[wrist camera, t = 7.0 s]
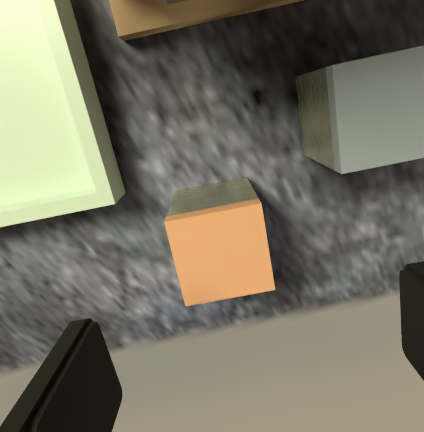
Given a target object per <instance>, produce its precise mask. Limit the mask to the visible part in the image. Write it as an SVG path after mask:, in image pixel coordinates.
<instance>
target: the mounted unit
mask: <svg viewBox="0 0 424 432" xmlns="http://www.w3.org/2000/svg"><path fill="white" fill-rule="evenodd" d="M299 1H304V0H109V2H110V6H111V10H112V14H113V18H114V21H115V25H116V29H117V33H118V37H120V38H121V39H122V40H124V41H125V40H130V39H134V38H139V37H143V36H147V35H152V34H156V33H161V32H165V31H170V30H174V29H179V28H183V27H188V26H192V25H197V24H201V23H206V22H210V21H214V20H219V19H223V18H228V17H232V16H237V15H241V14H246V13H250V12H255V11H259V10H264V9H268V8H273V7H277V6H282V5H286V4H290V3H295V2H299Z"/></svg>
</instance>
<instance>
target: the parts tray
mask: <svg viewBox="0 0 424 432" xmlns="http://www.w3.org/2000/svg"><path fill="white" fill-rule="evenodd" d="M125 193H126V192H125V189H124V185H123V182H122V179H121V175H120V172H119V168H118V165H117V161H116V158H115V154H114V151H113V147H112V144H111V140H110V137H109V133H108V130H107V127H106V123H105V120H104V116H103V113H102V109H101V106H100V102H99V99H98V95H97V92H96V88H95V85H94V81H93V78H92V75H91V71H90V68H89V64H88V61H87V57H86V54H85V50H84V47H83V43H82V40H81V36H80V33H79V29H78V26H77V23H76V19H75V16H74V12H73V9H72V5H71V2H70V0H0V227H4V226H9V225H14V224H19V223H24V222H29V221H34V220H38V219H43V218H48V217H53V216H58V215H63V214H68V213H73V212H78V211H83V210H88V209H93V208H98V207H103V206H108V205H113V204H116V203H117V202H118V201H119V199H120V198H121V197H122V196H123V195H124V194H125Z"/></svg>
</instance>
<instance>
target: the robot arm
mask: <svg viewBox="0 0 424 432" xmlns="http://www.w3.org/2000/svg"><path fill="white" fill-rule="evenodd" d="M399 279H400V305H401V334H402V348H403V351H404V354H405V356H406V357H407V359H408V360H409V361H410V363H411V364H412V366H413V367H414V368H415V369H416V371H417V372H418V374H419V375H420V376H421V377H422V379H423V380H424V261H423V262H418V263H412V264H407V265H406V266H405V269H404V270H401V271H400V274H399ZM121 400H122V388H121V385H120V382H119V379H118V377H117V374H116V371H115V368H114V365H113V363H112V360H111V357H110V354H109V351H108V349H107V346H106V343H105V340H104V337H103V335H102V332H101V329H100V326H99V324H98V323H97V322H93V321H92V319H90V318H88V319H82V320H76V321H72V322H70V323H69V325H68V326H67V328H66V329H65V331H64V332H63V334H62V335H61V337H60V338H59V340H58V341H57V343H56V344H55V346H54V347H53V349H52V350H51V352H50V353H49V355H48V356H47V358H46V359H45V361H44V362H43V364H42V365H41V367H40V368H39V370H38V371H37V373H36V374H35V376H34V377H33V379H32V380H31V381H30V383H29V384H28V386H27V387H26V389H25V390H24V392H23V394H22V395H21V397H20V398H19V399H18V401H17V402H16V404H15V405H14V407H13V408H12V410H11V411H10V413H9V414H8V416H7V417H6V419H5V420H4V422H3V423H2V425H1V426H0V432H112V429H113V426H114V422H115V419H116V416H117V413H118V410H119V407H120V404H121Z"/></svg>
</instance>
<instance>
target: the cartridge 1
mask: <svg viewBox="0 0 424 432" xmlns="http://www.w3.org/2000/svg"><path fill="white" fill-rule="evenodd" d="M164 223H165V227H166V231H167V235H168V239H169V243H170V247H171V251H172V255H173V259H174V263H175V267H176V270H177V274H178V278H179V282H180V286H181V290H182V294H183V298H184V302H185V306H190V305H195V304H201V303H206V302H212V301H217V300H223V299H228V298H234V297H239V296H245V295H250V294H256V293H261V292H267V291H273V290H275V285H274V279H273V272H272V266H271V260H270V253H269V247H268V241H267V234H266V228H265V222H264V215H263V209H262V203H261V201H260V200H259V198H258V196H257V194H256V193H255V191H254V189H253V187H252V186H251V184H250V182H249V180H248V179H247V177H242V178H237V179H232V180H227V181H222V182H217V183H212V184H207V185H202V186H197V187H192V188H186V189H181V190H176V191H175V194H174V196H173V199H172V202H171V205H170V208H169V210H168V213H167V216H166V219H165V221H164Z"/></svg>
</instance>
